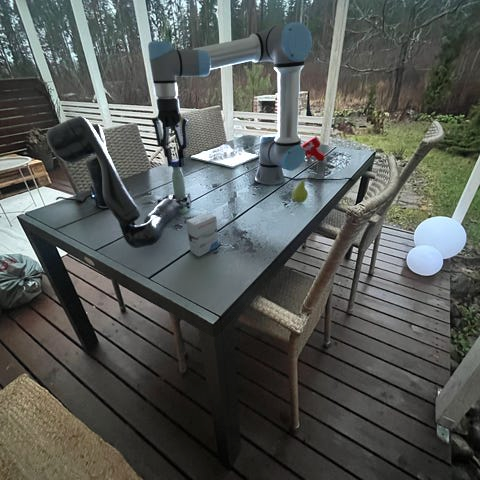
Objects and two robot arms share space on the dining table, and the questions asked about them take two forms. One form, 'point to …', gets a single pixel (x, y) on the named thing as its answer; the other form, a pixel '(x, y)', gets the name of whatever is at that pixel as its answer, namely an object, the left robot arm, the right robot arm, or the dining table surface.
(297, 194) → the fruit
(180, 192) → the bottle
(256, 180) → the right robot arm
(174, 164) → the cap
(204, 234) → the ink box
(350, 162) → the dining table surface
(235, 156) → the relief map
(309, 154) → the toy gun
